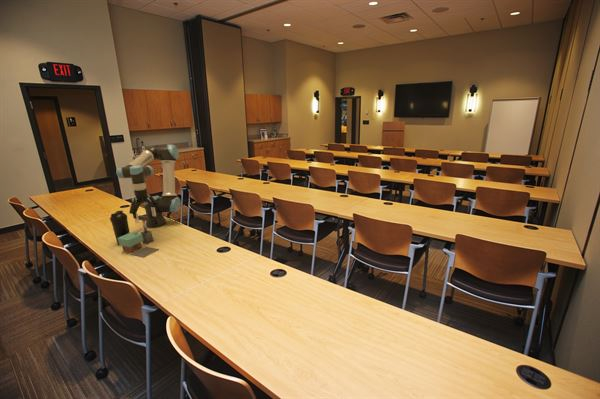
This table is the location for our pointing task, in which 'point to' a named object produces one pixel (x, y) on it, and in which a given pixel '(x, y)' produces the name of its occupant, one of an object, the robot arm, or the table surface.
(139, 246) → the case
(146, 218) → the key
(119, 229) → the water bottle
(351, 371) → the table surface
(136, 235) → the cover
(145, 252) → the mat
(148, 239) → the lock block
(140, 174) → the robot arm
